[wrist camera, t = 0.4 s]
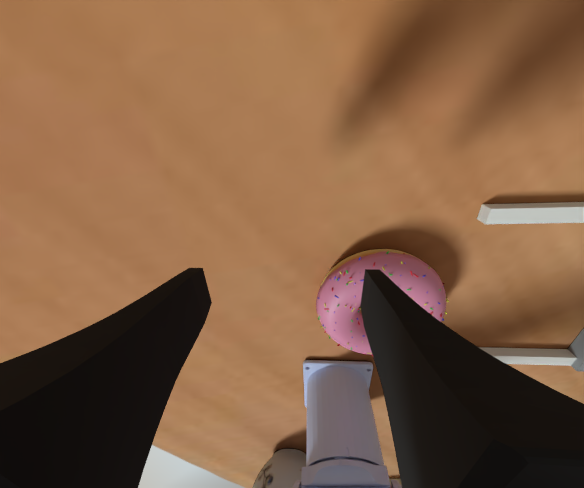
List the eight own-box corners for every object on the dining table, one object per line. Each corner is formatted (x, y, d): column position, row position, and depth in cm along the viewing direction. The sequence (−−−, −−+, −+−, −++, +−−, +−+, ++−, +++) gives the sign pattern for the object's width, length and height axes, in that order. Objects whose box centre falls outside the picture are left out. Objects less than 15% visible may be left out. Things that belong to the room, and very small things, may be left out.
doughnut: (459, 262, 21) (491, 293, 17) (394, 341, 26) (408, 378, 22) (343, 223, 20) (351, 248, 16) (300, 314, 25) (298, 348, 21)
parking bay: (574, 356, 25) (590, 371, 24) (429, 353, 26) (436, 367, 25) (701, 199, 17) (737, 206, 15) (482, 204, 18) (496, 211, 16)
